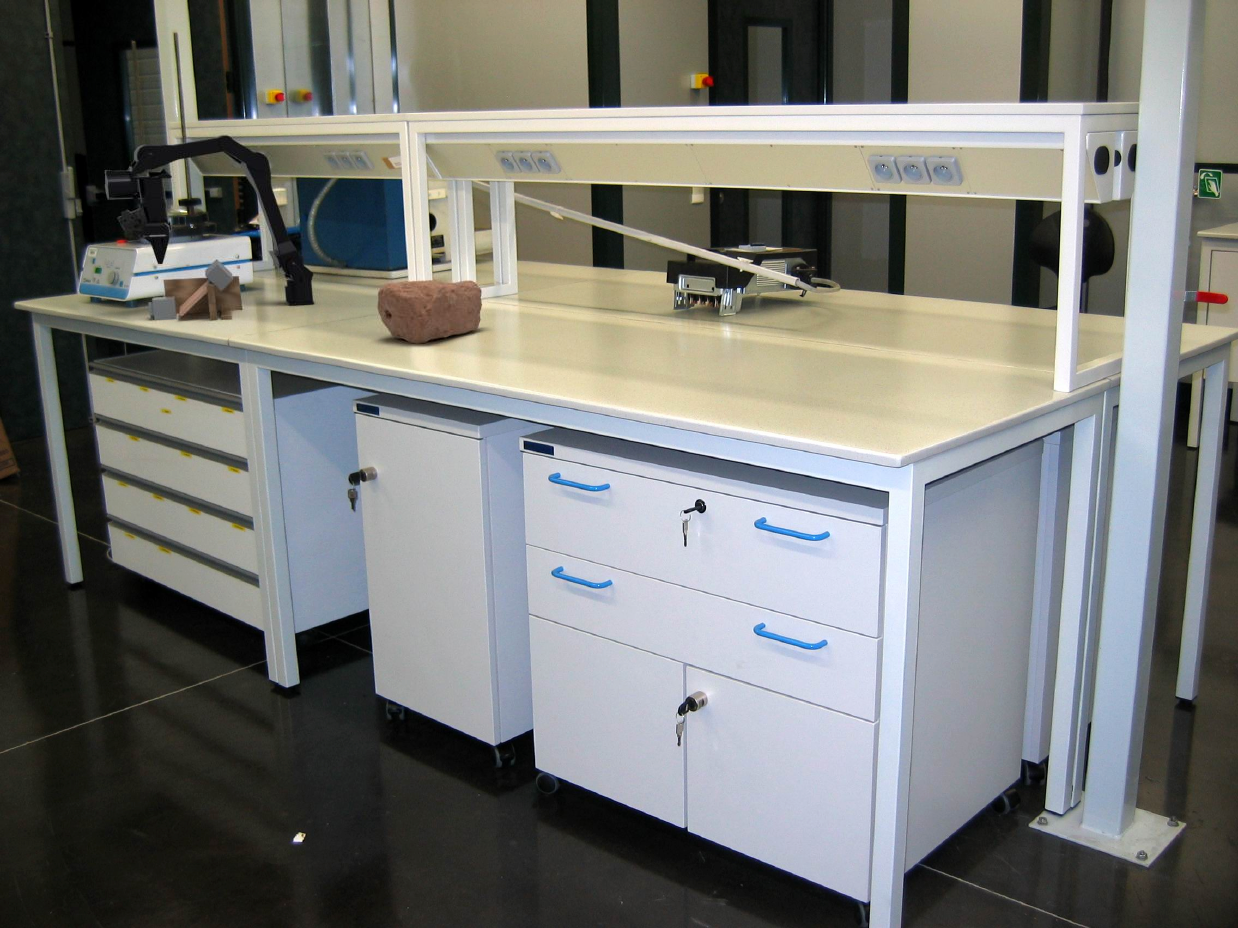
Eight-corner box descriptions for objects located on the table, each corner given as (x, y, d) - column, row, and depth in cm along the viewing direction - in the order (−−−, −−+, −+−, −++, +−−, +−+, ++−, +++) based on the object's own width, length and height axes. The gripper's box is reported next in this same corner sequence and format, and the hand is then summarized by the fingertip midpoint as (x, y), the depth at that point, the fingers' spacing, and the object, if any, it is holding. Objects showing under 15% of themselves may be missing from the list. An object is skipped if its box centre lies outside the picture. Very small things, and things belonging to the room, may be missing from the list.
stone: (511, 325, 254) (494, 259, 252) (427, 339, 234) (409, 268, 233) (462, 340, 264) (446, 278, 263) (378, 355, 244) (360, 287, 243)
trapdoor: (231, 273, 288) (216, 259, 285) (233, 279, 275) (217, 264, 273) (189, 314, 287) (173, 300, 285) (188, 322, 274) (172, 308, 272)
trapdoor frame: (242, 309, 292) (238, 276, 290) (244, 318, 277) (240, 283, 274) (167, 313, 287) (163, 279, 284) (165, 323, 271) (161, 287, 269)
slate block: (174, 296, 280) (148, 297, 279) (174, 299, 276) (147, 300, 274) (177, 316, 282) (151, 318, 280) (176, 319, 277) (150, 321, 275)
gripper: (119, 197, 283) (128, 260, 287) (114, 201, 266) (123, 267, 270) (167, 196, 286) (175, 258, 291) (165, 199, 269) (173, 265, 274)
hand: (160, 262), depth 281 cm, fingers open, 9 cm apart
